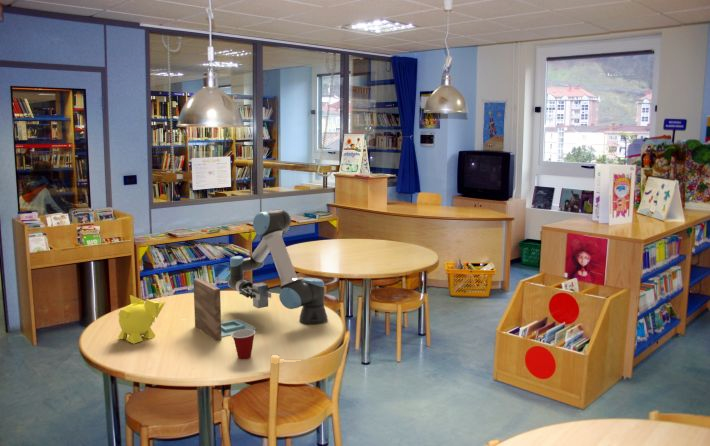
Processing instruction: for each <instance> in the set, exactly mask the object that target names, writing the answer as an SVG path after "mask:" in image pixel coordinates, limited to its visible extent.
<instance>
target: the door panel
mask: <svg viewBox="0 0 710 446" xmlns="http://www.w3.org/2000/svg"><path fill="white" fill-rule="evenodd" d="M192 281H193V305H194V327H195V328H197V329H198V330H199V331H201V332H202V333H204V334H205V335H207V336H208V337H210V338H211V339H213V340H214V341H222V338H223V337H221V322H222V313H221V311H222V309H221V307H222V306H221V304H222V303H221V288H219V287H218V286H216V285H214V284H212V283H210V282H208V281H206V280H204V279H202V278H200V277H196V278H193V279H192Z"/></svg>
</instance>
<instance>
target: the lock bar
mask: <svg viewBox="0 0 710 446" xmlns="http://www.w3.org/2000/svg"><path fill="white" fill-rule="evenodd" d="M252 285H253V292H255V293H257V294H259V295H260V300H258V299H256V298H252V306H253V307H255V308H257V309H263V308H268V307H269V297H268V289H269V285H268V283H265V282H263V281H262V282H257V283H252Z"/></svg>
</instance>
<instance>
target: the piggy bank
mask: <svg viewBox="0 0 710 446" xmlns="http://www.w3.org/2000/svg"><path fill="white" fill-rule="evenodd" d="M129 298H130V304H128V305H126V306H125V307H124V308H123V309H120V310H119V312H118V314H117V316H118V323H119V327H120V329H121V332H120V333H119V335H118V336H117V338H118V339H121V340H124V339H125V340H126V341H127V342H129V343H131V344H132V343H133V344H136V343H140V342H143V341H144V340H143V338H144V339H149V340H150V339H152V338H156V337H155V336H156V334H155V333H154V331H153V329H152V328H151V327H152V325H153V323H155V320H156V318H157V319H158V318H159V314H160V312H161V311H162V309H163V307H164V306H165V304H166V301H164V302H158V301H154V300H151V299H147V298H146V299H145V300H144V299H142V298H139V297H136V296H134V295H131V294H129ZM128 335H129V336H128ZM142 335H143V336H142ZM133 344H132V345H133Z"/></svg>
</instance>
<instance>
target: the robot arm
mask: <svg viewBox="0 0 710 446" xmlns="http://www.w3.org/2000/svg"><path fill="white" fill-rule="evenodd" d="M291 225H292V220H291V216H290V214H289V213H288V212H287V211H285V210H284V209H275V210H267V211H266V210H265V211H260V212H258V213H257V214H256V215H255V216H254V218H253V220H252V226H253V231H254V233H256V234H257V235H259V236H260V237H261V240H260V242H259V243H258V245H257V247H255V249H254V251H253V252H252V254H251V255H250V256H249V257H246V258H244V257H243V256H241V255H236V256H235V255H234V256H231V257H230V258H229V267H230V268H229V271H230V274H229V275H230V276H229V278H228V280H227V285H228V287H229V288H230V289H231V290H233V291H236V292H238V293H239V295H241V296H244V297H246V298H247V299H248V298H250V299H252V300H253V298H256V299H258V300H260V295H259V294H257V293H255V292H253V285H252V284H253V283H252V282H250V281H248V280H246V279H245V276H244V275H245V272H249V271H254V270H258V269H260V268H263V267H264V266H265V259H266V257H267V256H268V255H269V254H270V255H271V258H272V260H273V263H274V265H275V268H276V271H277V273H278V276H279V279H280V282H281V284H280V291H279V295H278V298H279V301H280V303H281V305H282V306H283V307H285V308H287V309H289V310H294V309H298V308H301V307H302V308H301V312H300V315H299V322H301V323H302V324H306V325H320V324H324V323H326V322H327V321H328V314H327V312H326V311H327V310H326V307H325V281H324V280H323V279H320V278H316V277H314V278H313V277H304V278H303V279H301V278H300V277H298V276H297V273H296V271H295V268H294V265H293V263H292V259H291V257H290V255H289V252H288V248H287V246H286V243H285V242H284V238H283V235H285V234H287V232H288V231H289V229H290V227H291ZM268 299H272V292H270V289H269V288H268Z"/></svg>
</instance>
